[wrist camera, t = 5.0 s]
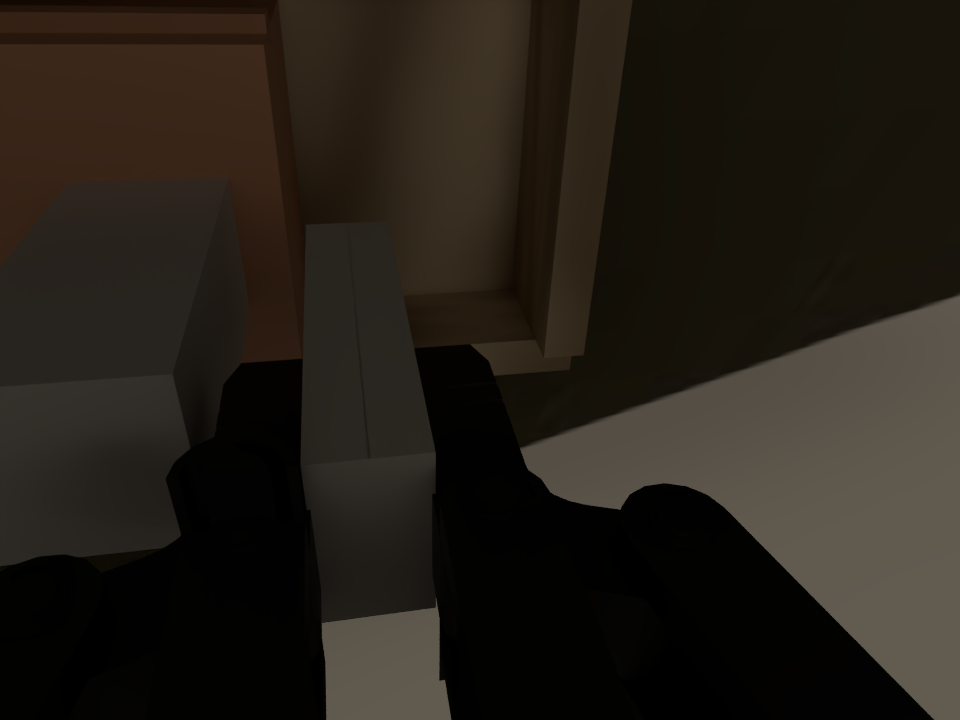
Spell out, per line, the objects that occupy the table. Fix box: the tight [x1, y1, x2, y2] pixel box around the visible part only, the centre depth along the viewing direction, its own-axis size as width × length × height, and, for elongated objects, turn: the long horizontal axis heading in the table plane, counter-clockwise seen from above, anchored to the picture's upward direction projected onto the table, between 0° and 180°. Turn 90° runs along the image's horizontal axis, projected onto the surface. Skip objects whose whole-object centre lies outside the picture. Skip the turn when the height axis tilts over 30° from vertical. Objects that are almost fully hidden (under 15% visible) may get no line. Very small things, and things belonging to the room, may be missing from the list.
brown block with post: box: [0, 0, 305, 566], centre depth 14 cm, size 9×9×13 cm
